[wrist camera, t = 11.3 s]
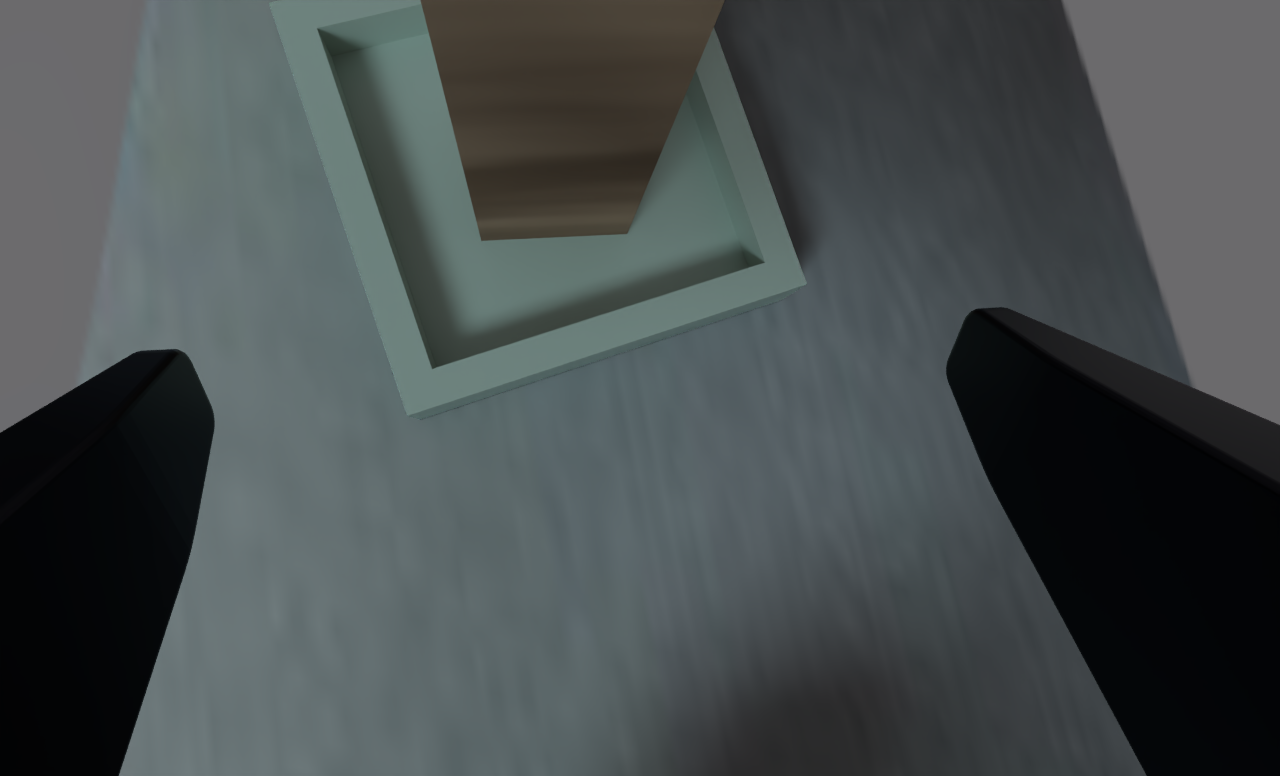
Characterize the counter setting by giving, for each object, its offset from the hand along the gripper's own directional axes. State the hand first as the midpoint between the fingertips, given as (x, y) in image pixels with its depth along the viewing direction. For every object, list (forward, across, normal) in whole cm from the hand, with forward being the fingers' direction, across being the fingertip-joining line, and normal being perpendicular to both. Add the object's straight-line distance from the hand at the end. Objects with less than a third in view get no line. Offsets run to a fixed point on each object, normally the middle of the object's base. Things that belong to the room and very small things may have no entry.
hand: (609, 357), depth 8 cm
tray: (+15, 0, +4) cm, 16 cm away
